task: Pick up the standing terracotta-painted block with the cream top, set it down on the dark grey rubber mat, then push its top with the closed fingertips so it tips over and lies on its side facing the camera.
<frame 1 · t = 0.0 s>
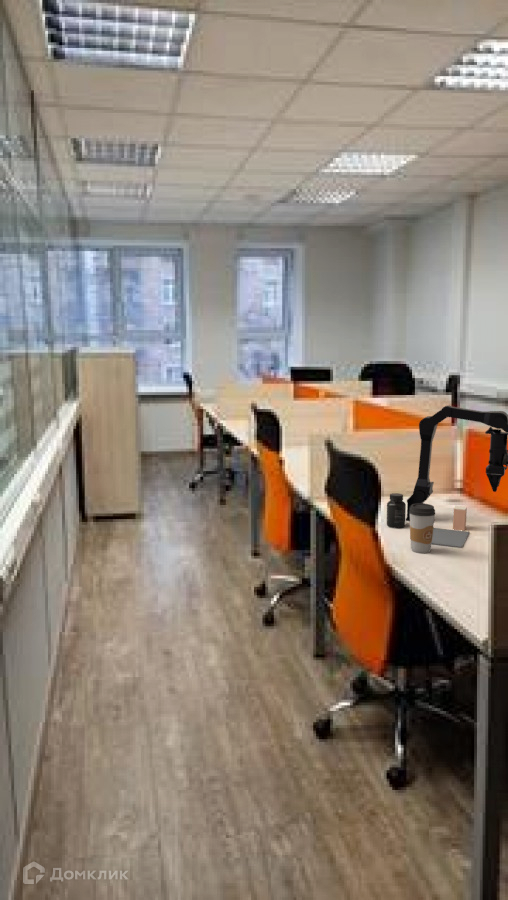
hand: (495, 488, 245), 15 cm above the table, fingers open, 9 cm apart
block: (459, 528, 247), on the table
coffee cup: (420, 550, 222), on the table
supplement bottle: (395, 526, 250), on the table
mat: (446, 537, 236), on the table
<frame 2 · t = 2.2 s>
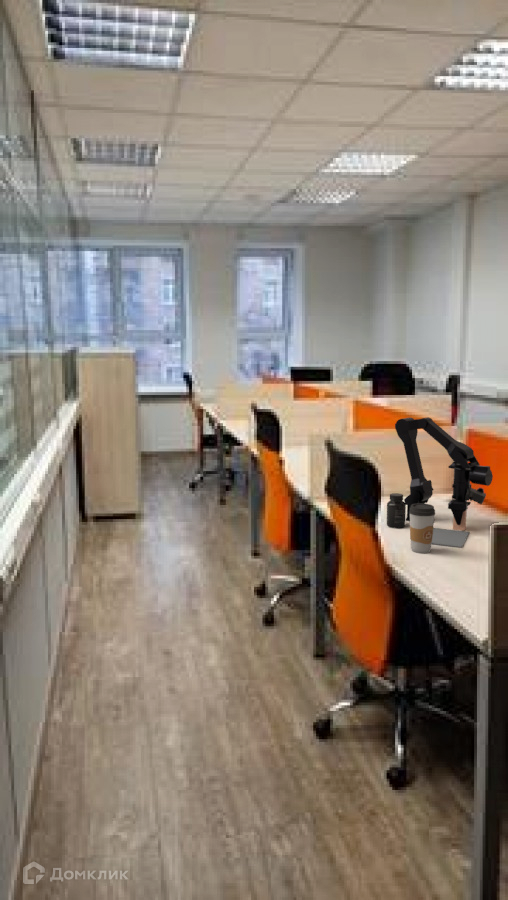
hand: (459, 523, 246), 2 cm above the table, fingers closed on block, 4 cm apart
block: (459, 528, 247), on the table, touching gripper
everything else where it was.
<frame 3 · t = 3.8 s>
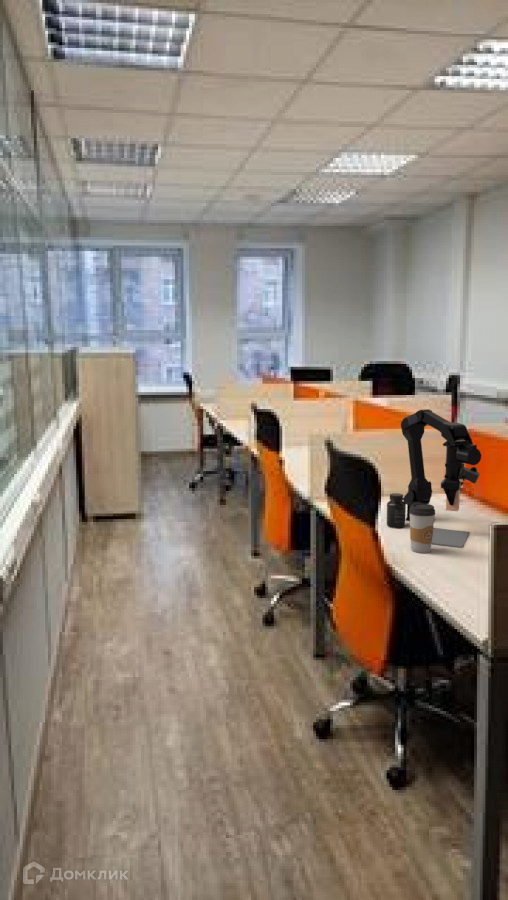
hand: (452, 503, 238), 11 cm above the table, fingers closed on block, 4 cm apart
block: (452, 509, 238), point 9 cm above the table, touching gripper
everything else where it was.
when the fingers open (3 cm above the table, at t = 5.5 s): block drops 1 cm, resting on mat.
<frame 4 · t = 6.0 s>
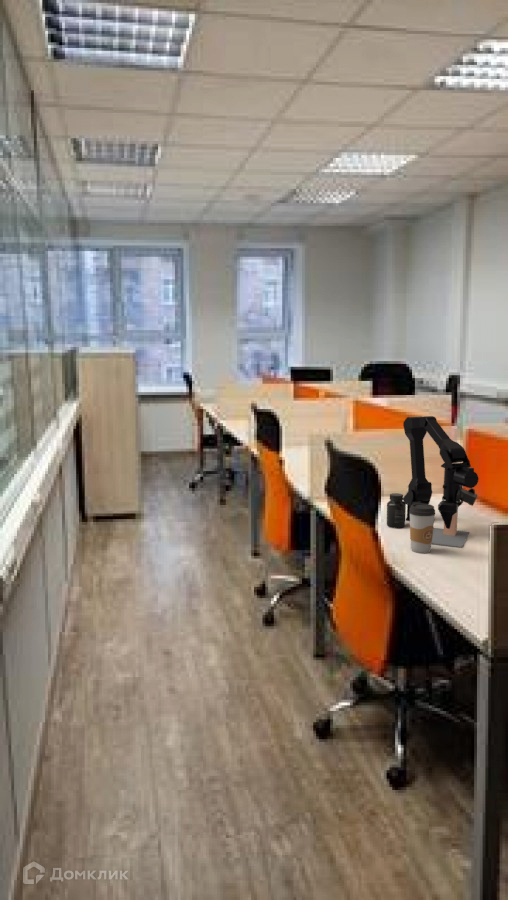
hand: (450, 525, 239), 3 cm above the table, fingers open, 9 cm apart
block: (450, 533, 239), resting on mat
everything else where it was.
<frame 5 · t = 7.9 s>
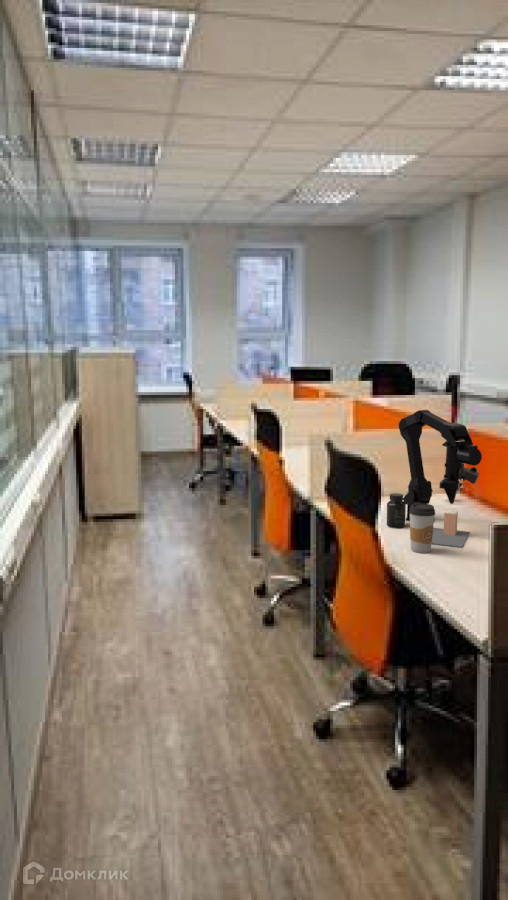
hand: (451, 503, 240), 11 cm above the table, fingers closed
nothing on the table moved.
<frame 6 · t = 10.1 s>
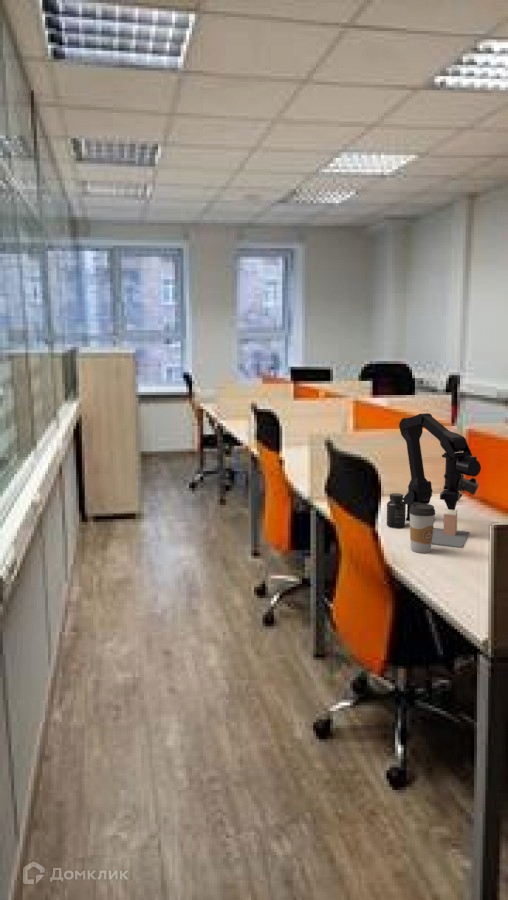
hand: (451, 514, 240), 7 cm above the table, fingers closed
block: (450, 532, 239), point 1 cm above the table, tilted 8°, touching gripper, mat
everything else where it was.
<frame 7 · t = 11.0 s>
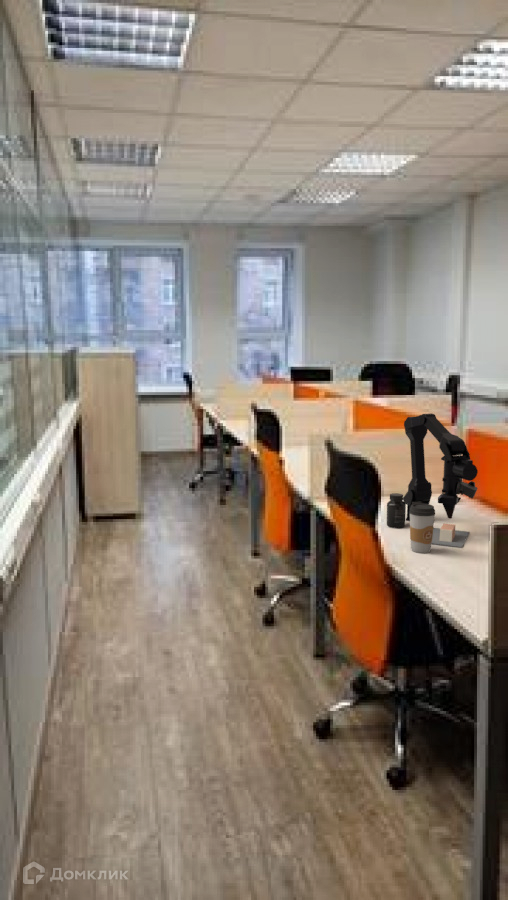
hand: (450, 518, 237), 6 cm above the table, fingers closed
block: (449, 529, 237), point 2 cm above the table, tilted 90°, touching mat
everything else where it was.
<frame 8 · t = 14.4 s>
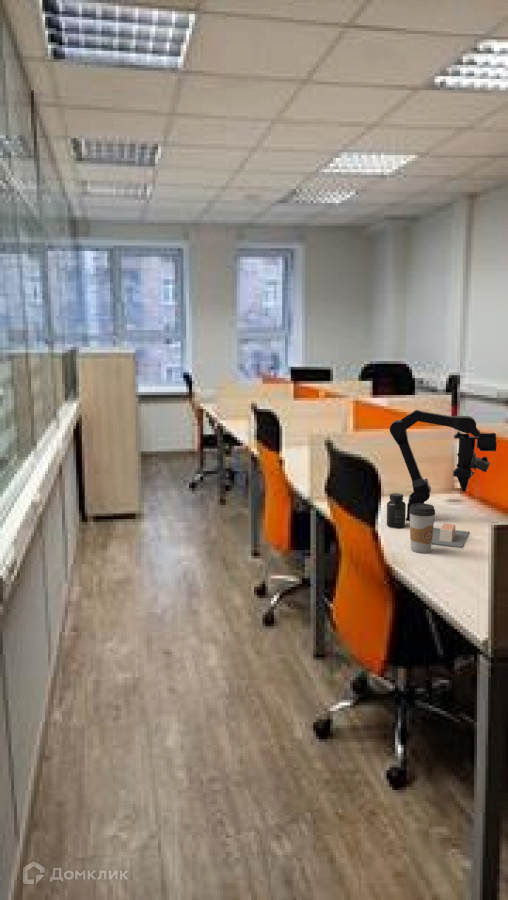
hand: (464, 491, 253), 12 cm above the table, fingers closed
nothing on the table moved.
at the end: block tilted 90°; block inside the target area (3.0 cm from its centre), point 2.4 cm above the table; the gripper is holding nothing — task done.
